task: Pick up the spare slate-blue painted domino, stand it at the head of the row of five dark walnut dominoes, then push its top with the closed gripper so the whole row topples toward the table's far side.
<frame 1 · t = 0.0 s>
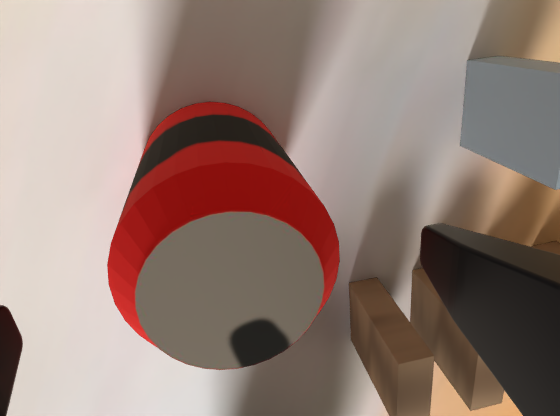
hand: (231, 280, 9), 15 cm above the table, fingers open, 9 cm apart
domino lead: (479, 102, 25), on the table
soda can: (213, 168, 23), on the table
domino 5: (538, 272, 31), on the table
domino 2: (363, 309, 30), on the table
domino 3: (424, 296, 30), on the table
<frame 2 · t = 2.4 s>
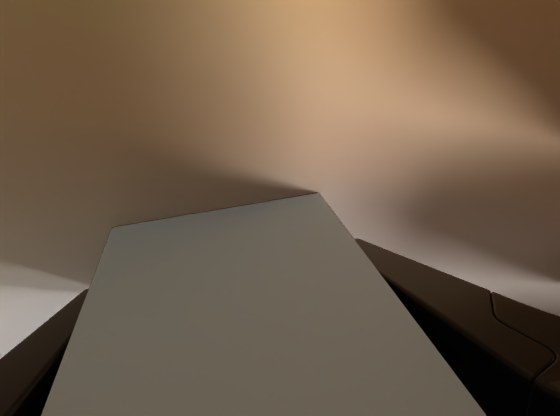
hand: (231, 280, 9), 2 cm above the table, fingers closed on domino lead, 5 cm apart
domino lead: (225, 245, 10), on the table, touching gripper
when the fingers open (3 cm above the table, at t = 6.7 s): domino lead drops 2 cm, on the table.
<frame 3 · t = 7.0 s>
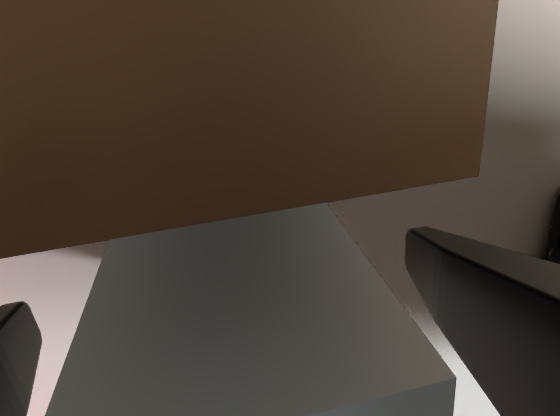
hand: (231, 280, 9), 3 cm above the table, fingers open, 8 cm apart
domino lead: (221, 221, 12), on the table
domino 2: (190, 47, 10), on the table
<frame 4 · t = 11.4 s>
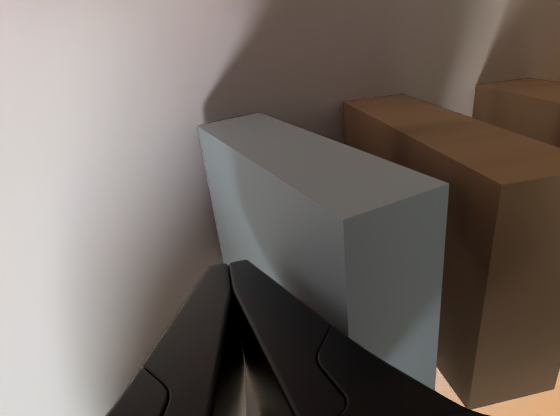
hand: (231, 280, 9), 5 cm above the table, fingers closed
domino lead: (241, 195, 14), on the table, tilted 15°
domino 2: (372, 171, 14), on the table
domino 3: (493, 152, 15), on the table
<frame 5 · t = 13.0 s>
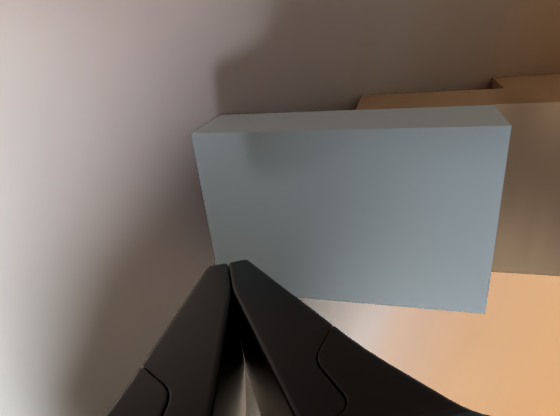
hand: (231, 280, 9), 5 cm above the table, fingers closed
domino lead: (220, 203, 13), point 1 cm above the table, tilted 64°, touching domino 2
domino 2: (360, 180, 13), point 1 cm above the table, tilted 64°, touching domino 3, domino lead
domino 3: (489, 159, 14), point 1 cm above the table, tilted 64°, touching domino 2, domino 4
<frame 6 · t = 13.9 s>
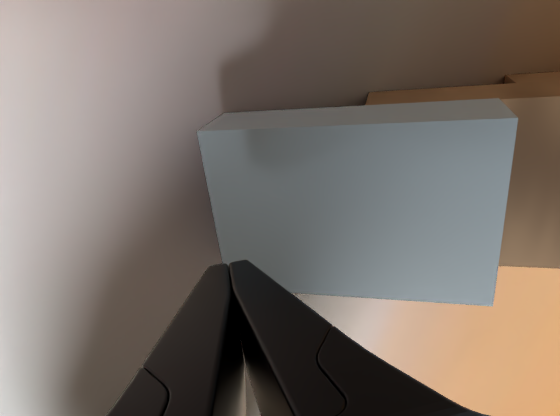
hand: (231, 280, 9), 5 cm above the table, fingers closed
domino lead: (225, 202, 13), point 1 cm above the table, tilted 65°, touching domino 2
domino 2: (368, 177, 13), point 1 cm above the table, tilted 65°, touching domino 3, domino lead
domino 3: (502, 156, 14), point 1 cm above the table, tilted 65°, touching domino 2, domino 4
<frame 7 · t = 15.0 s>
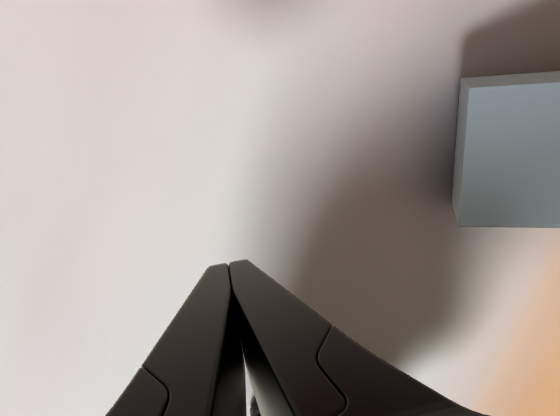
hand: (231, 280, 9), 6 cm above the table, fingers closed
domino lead: (459, 153, 15), point 1 cm above the table, tilted 65°, touching domino 2
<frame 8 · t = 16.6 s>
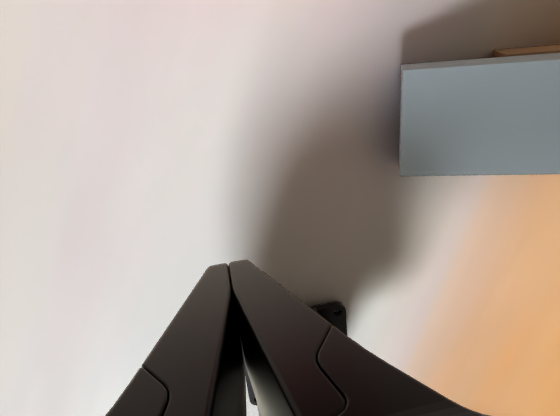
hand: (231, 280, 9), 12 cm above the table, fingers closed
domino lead: (400, 120, 20), point 1 cm above the table, tilted 66°, touching domino 2
domino 2: (493, 104, 21), point 1 cm above the table, tilted 68°, touching domino 3, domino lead
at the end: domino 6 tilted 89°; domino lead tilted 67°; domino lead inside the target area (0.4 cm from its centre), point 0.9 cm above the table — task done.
